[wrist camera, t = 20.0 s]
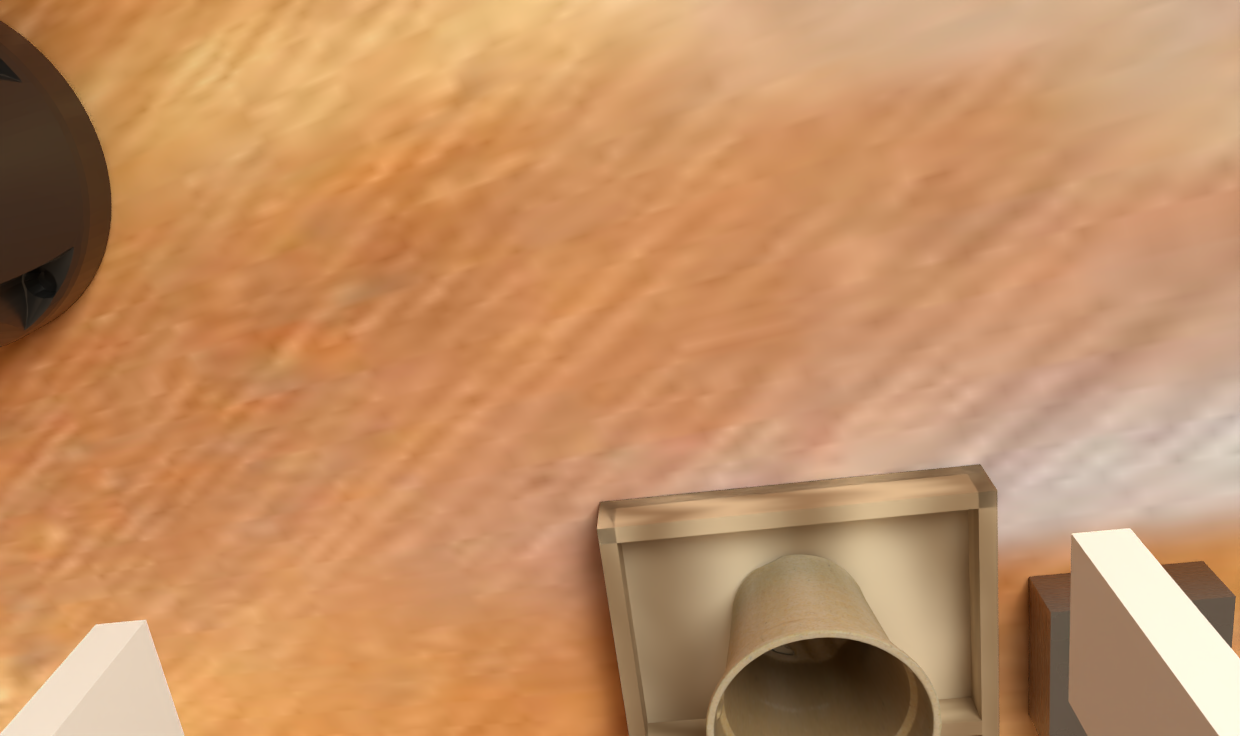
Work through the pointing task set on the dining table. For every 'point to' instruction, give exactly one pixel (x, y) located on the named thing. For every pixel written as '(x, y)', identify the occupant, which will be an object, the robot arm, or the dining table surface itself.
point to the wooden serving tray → (811, 525)
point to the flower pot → (815, 661)
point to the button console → (1052, 638)
